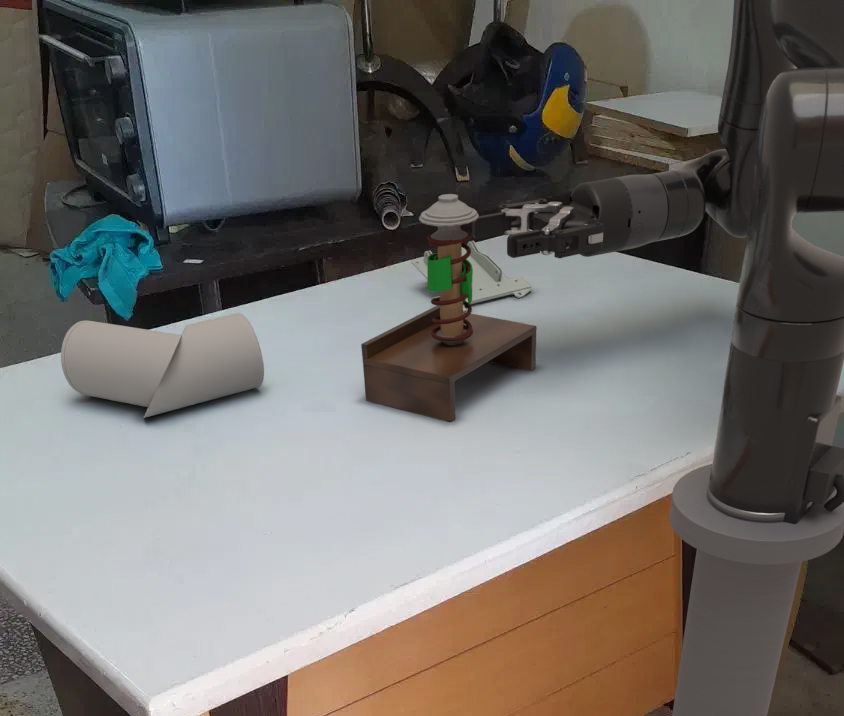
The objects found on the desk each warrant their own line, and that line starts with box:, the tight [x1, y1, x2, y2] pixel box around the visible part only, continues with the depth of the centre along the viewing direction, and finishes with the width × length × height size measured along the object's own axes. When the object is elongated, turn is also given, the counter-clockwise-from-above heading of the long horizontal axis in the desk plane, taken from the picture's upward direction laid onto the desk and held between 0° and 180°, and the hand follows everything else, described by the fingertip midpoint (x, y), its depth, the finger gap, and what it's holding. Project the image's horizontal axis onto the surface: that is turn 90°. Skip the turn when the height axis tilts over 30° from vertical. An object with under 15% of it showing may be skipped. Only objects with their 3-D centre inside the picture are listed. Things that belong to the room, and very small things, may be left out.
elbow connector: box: [60, 312, 265, 419], centre depth 118 cm, size 18×10×20 cm
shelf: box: [360, 305, 537, 423], centre depth 118 cm, size 12×18×6 cm, turn 144°
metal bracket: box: [411, 240, 533, 312], centre depth 145 cm, size 14×6×15 cm
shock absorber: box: [418, 193, 480, 345], centre depth 112 cm, size 6×6×15 cm
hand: (490, 237), depth 111 cm, fingers open, 8 cm apart
